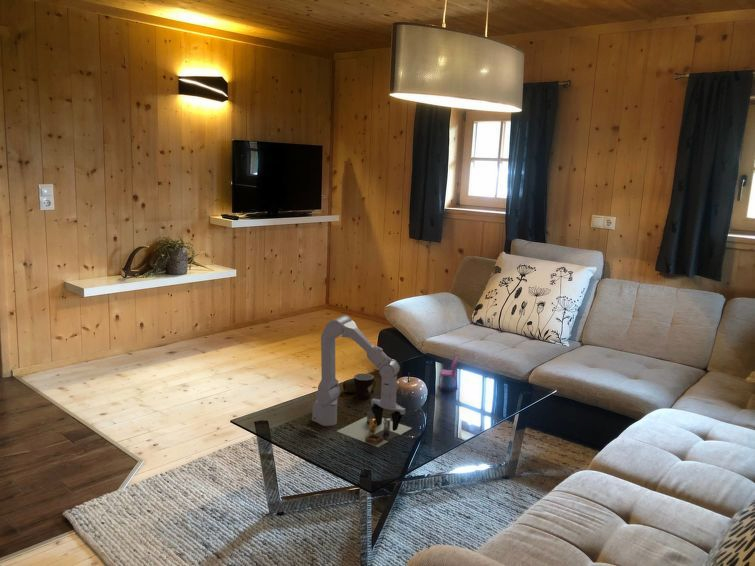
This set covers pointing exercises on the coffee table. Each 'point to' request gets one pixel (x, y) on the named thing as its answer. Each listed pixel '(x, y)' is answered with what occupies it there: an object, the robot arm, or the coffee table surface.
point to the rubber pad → (388, 438)
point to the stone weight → (353, 385)
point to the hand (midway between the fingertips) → (387, 426)
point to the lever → (372, 425)
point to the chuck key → (386, 427)
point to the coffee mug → (363, 385)
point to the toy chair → (449, 371)
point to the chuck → (370, 416)
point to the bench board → (362, 430)
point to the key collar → (375, 442)
